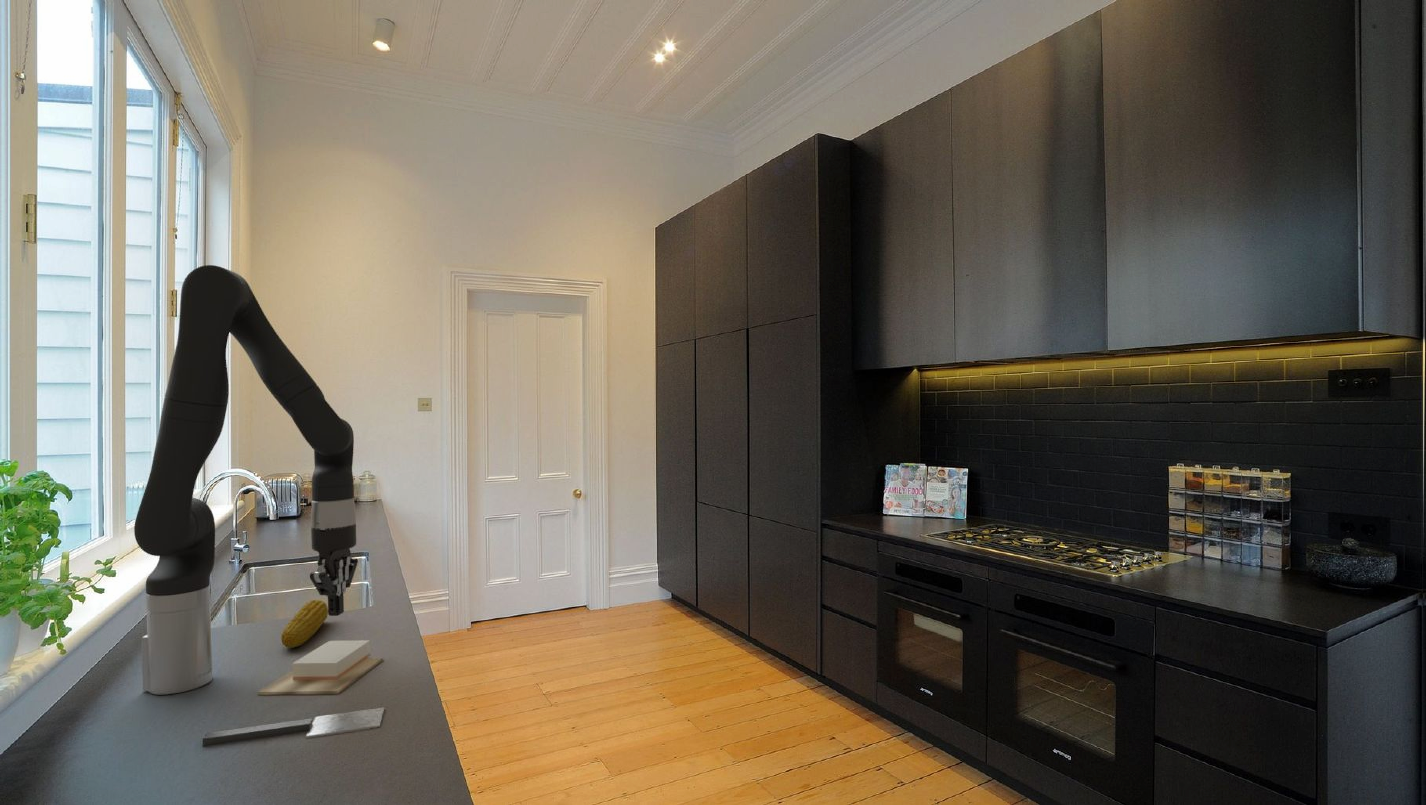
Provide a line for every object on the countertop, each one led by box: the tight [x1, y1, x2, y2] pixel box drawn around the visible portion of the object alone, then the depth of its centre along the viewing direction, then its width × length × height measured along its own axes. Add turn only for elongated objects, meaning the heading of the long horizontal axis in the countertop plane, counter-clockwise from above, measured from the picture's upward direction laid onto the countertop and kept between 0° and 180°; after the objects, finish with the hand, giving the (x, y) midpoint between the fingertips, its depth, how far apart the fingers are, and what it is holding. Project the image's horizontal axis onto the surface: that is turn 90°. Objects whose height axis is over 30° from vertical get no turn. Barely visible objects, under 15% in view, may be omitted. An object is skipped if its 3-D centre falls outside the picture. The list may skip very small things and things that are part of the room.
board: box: [257, 657, 384, 696], centre depth 133 cm, size 14×16×1 cm
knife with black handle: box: [202, 706, 385, 748], centre depth 112 cm, size 24×7×1 cm, turn 108°
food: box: [280, 599, 329, 649], centre depth 157 cm, size 21×6×6 cm, turn 16°
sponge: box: [291, 639, 371, 680], centre depth 137 cm, size 8×3×12 cm
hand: (336, 614), depth 138 cm, fingers closed
